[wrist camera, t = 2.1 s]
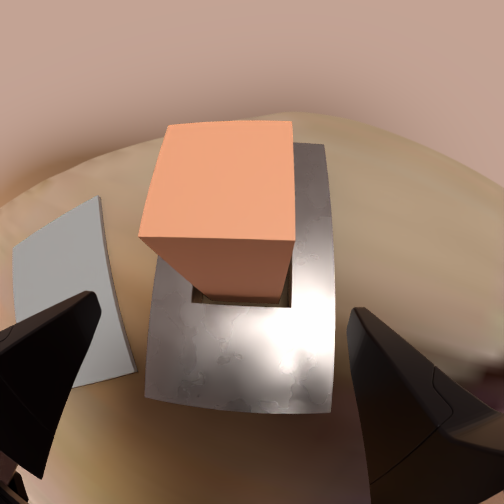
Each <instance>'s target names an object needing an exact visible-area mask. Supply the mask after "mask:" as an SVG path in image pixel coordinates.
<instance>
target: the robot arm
mask: <svg viewBox="0 0 504 504" xmlns="http://www.w3.org/2000/svg"><path fill="white" fill-rule="evenodd" d="M101 314H102V309H101V306H100V304H99V301H98V298H97V295H96V293H95V292H93V291H87V290H86V291H83V292H81V293H79V294H77V295H74V296H72V297H70V298H68V299H66V300H64V301H62V302H60V303H57V304H55V305H53V306H51V307H49V308H47V309H45V310H43V311H41V312H39V313H37V314H35V315H33V316H31V317H28V318H26V319H24V320H22V321H20V322H18V323H16V324H15V325H12V326H10V327H8V328H6V329H4V330H2V331H0V504H29V503H27V502H28V500H29V499H28V496H27V493H26V490H25V487H24V484H23V481H22V477H21V475H20V474H19V473H18V472H17V471H15V470H16V468H17V466H18V465H20V466H21V467H23V468H24V469H25V470H27V471H28V472H30V473H31V474H33V475H34V476H36V477H37V478H39V479H41V480H42V477H43V474H44V470H45V466H46V463H47V459H48V455H49V452H50V449H51V445H52V442H53V439H54V435H55V432H56V429H57V426H58V423H59V420H60V418H61V415H62V412H63V409H64V407H65V404H66V401H67V399H68V396H69V394H70V391H71V389H72V386H73V384H74V381H75V379H76V377H77V374H78V372H79V370H80V367H81V365H82V363H83V361H84V358H85V356H86V354H87V352H88V350H89V347H90V345H91V342H92V339H93V336H94V334H95V331H96V328H97V326H98V323H99V320H100V318H101ZM347 340H348V349H349V359H350V369H351V376H352V381H353V386H354V391H355V396H356V401H357V406H358V412H359V417H360V423H361V428H362V434H363V441H364V447H365V454H366V461H367V468H368V476H369V484H370V495H371V504H504V413H501V412H498V411H496V410H494V409H492V408H491V407H489V406H488V405H486V404H485V403H484V402H482V401H481V400H479V399H478V398H477V397H475V396H474V395H472V394H471V393H470V392H468V391H467V390H465V389H464V388H463V387H461V386H460V385H459V384H457V383H456V382H455V381H453V380H452V379H451V378H450V377H449V376H447V375H446V374H445V373H444V372H443V371H441V370H440V369H439V368H438V367H437V366H435V367H434V364H433V363H432V362H431V361H430V360H428V359H427V358H426V357H425V356H424V355H422V354H421V353H420V352H419V351H418V350H416V349H415V348H414V347H413V346H412V345H410V344H409V343H408V342H407V341H406V340H404V339H403V338H402V337H401V336H400V335H398V334H397V333H396V332H395V331H394V330H392V329H391V328H390V327H389V326H387V325H386V324H385V323H384V322H382V321H381V320H380V319H379V318H378V317H376V316H375V315H374V314H373V313H371V312H370V311H369V310H368V309H366V308H365V307H354V308H353V309H352V311H351V314H350V318H349V322H348V325H347Z"/></svg>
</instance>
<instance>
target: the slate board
mask: <svg viewBox="0 0 504 504" xmlns="http://www.w3.org/2000/svg"><path fill="white" fill-rule="evenodd" d="M86 290H87V291H93V292H95V293H96V295H97V298H98V301H99V304H100V306H101V309H102V314H101V318H100V320H99V323H98V326H97V328H96V331H95V334H94V336H93V339H92V342H91V345H90V347H89V350H88V352H87V354H86V356H85V358H84V361H83V363H82V365H81V367H80V370H79V372H78V374H77V377H76V379H75V381H74V384H73V386H72V388H75V387H80V386H84V385H88V384H92V383H96V382H100V381H104V380H108V379H112V378H116V377H119V376H123V375H127V374H130V373H134V372H137V371H138V370H137V367H136V364H135V361H134V358H133V355H132V352H131V349H130V345H129V342H128V339H127V335H126V332H125V328H124V325H123V321H122V317H121V313H120V309H119V305H118V301H117V297H116V292H115V288H114V283H113V278H112V273H111V268H110V263H109V257H108V251H107V245H106V238H105V231H104V224H103V216H102V206H101V198H100V197H99V196H98V195H97V196H95V197H93V198H91V199H90V200H88V201H86V202H84V203H82V204H81V205H79V206H77V207H75V208H74V209H72V210H70V211H68V212H67V213H65V214H63V215H62V216H60V217H59V218H57V219H55V220H54V221H52V222H50V223H49V224H47V225H46V226H44V227H43V228H41V229H40V230H38V231H36V232H35V233H33V234H32V235H31V236H29V237H28V238H26V239H25V240H23V241H22V242H20V243H19V244H18V245H16V246H15V247H13V293H14V306H15V316H16V323H18V322H20V321H22V320H24V319H26V318H28V317H31V316H33V315H35V314H37V313H39V312H41V311H43V310H45V309H47V308H49V307H51V306H53V305H55V304H57V303H60V302H62V301H64V300H66V299H68V298H70V297H72V296H74V295H77V294H79V293H81V292H83V291H86Z"/></svg>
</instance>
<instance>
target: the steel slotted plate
mask: <svg viewBox="0 0 504 504" xmlns="http://www.w3.org/2000/svg"><path fill="white" fill-rule="evenodd" d="M293 155H294V184H295V244H294V248H293V252H292V256H291V260H290V264H289V296H288V308H275V307H250V306H231V305H215V304H202V299H203V293H202V292H201V291H199V290H198V289H197V288H196V287H195V286H193V285H192V284H191V283H190V282H189V281H187V280H186V279H185V278H184V277H183V276H182V275H180V274H179V273H178V272H177V271H176V270H175V269H174V268H172V267H171V266H170V265H169V264H168V263H167V262H166V261H164V260H163V259H162V258H161V257H160V256H159V255H158V259H157V265H156V272H155V279H154V286H153V294H152V302H151V311H150V320H149V330H148V342H147V356H146V373H145V397H146V398H151V399H155V400H160V401H165V402H170V403H176V404H181V405H188V406H194V407H201V408H208V409H217V410H226V411H237V412H251V413H272V414H312V413H331V402H332V388H333V372H334V349H335V270H334V246H333V229H332V215H331V203H330V192H329V182H328V172H327V164H326V156H325V148H324V145H323V144H310V143H293Z"/></svg>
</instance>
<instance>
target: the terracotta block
mask: <svg viewBox="0 0 504 504" xmlns="http://www.w3.org/2000/svg"><path fill="white" fill-rule="evenodd" d="M138 237H139V238H140V239H141V240H142V241H143V242H144V243H145V244H147V245H148V246H149V247H150V248H151V249H152V250H153V251H154V252H155V253H157V254H158V255H159V256H160V257H161V258H162V259H163V260H164V261H166V262H167V263H168V264H169V265H170V266H171V267H172V268H174V269H175V270H176V271H177V272H178V273H179V274H180V275H182V276H183V277H184V278H185V279H186V280H187V281H189V282H190V283H191V284H192V285H193V286H195V287H196V288H197V289H198V290H199V291H201V292H202V293H203V294H204V295H205V296H207V297H208V298H209V299H210V300H212V301H228V302H247V303H271V304H279V301H280V297H281V294H282V290H283V286H284V283H285V279H286V275H287V271H288V267H289V264H290V260H291V256H292V252H293V248H294V244H295V184H294V155H293V133H292V122H291V121H218V122H201V123H189V124H176V125H169V126H168V128H167V131H166V134H165V137H164V140H163V143H162V146H161V149H160V153H159V156H158V159H157V163H156V166H155V169H154V173H153V176H152V180H151V184H150V187H149V191H148V195H147V199H146V203H145V207H144V211H143V216H142V220H141V225H140V229H139V234H138Z"/></svg>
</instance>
